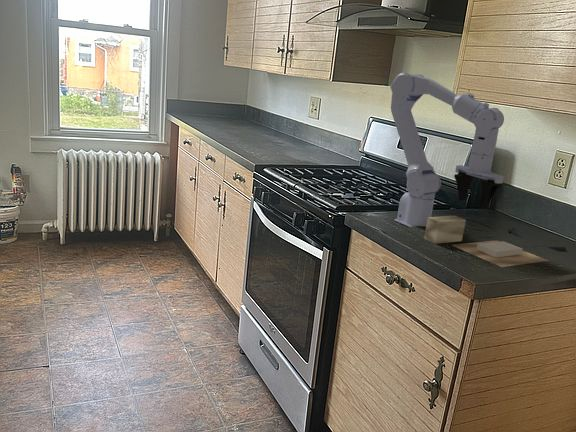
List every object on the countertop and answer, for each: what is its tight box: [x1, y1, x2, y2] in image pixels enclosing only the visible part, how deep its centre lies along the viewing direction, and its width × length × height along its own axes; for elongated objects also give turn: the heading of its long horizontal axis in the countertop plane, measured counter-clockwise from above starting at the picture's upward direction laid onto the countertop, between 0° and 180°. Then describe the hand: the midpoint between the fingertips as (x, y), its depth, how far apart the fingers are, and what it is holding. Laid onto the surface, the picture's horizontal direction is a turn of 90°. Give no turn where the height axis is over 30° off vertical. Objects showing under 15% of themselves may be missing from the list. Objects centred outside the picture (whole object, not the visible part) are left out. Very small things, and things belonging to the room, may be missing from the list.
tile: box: [477, 240, 524, 257], centre depth 140 cm, size 2×10×6 cm
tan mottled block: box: [423, 215, 467, 245], centre depth 145 cm, size 4×10×7 cm, turn 121°
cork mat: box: [451, 240, 549, 268], centre depth 140 cm, size 16×18×1 cm
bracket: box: [506, 228, 567, 252], centre depth 156 cm, size 14×15×3 cm
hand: (472, 203), depth 149 cm, fingers open, 7 cm apart
